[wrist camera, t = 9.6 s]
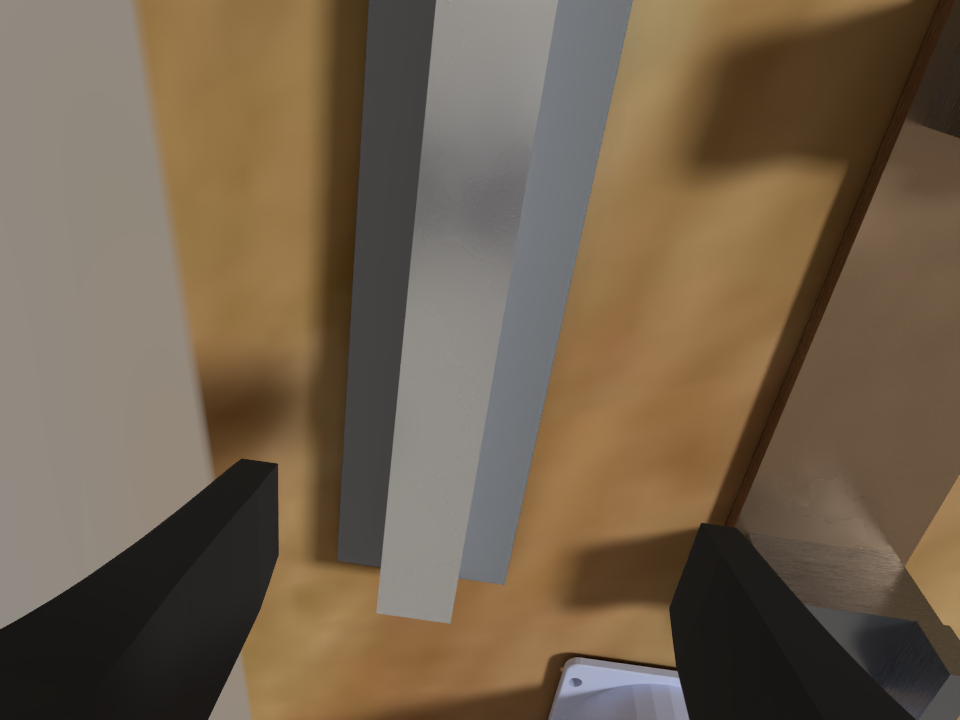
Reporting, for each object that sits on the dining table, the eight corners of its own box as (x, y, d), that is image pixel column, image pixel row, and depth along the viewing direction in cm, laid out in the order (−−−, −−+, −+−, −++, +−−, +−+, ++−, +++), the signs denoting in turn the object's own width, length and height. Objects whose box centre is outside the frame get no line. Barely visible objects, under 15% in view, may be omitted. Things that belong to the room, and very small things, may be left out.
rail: (456, 568, 24) (450, 623, 22) (389, 558, 24) (376, 613, 22) (570, -109, 15) (579, -125, 13) (460, -127, 15) (450, -146, 13)
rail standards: (854, 624, 25) (930, 767, 21) (694, 601, 25) (733, 741, 20) (1232, -26, 15) (1547, -33, 11) (969, -70, 15) (1169, -96, 10)
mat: (504, 574, 25) (504, 584, 25) (339, 551, 25) (336, 560, 24) (656, -122, 15) (660, -125, 15) (383, -166, 15) (378, -171, 14)
